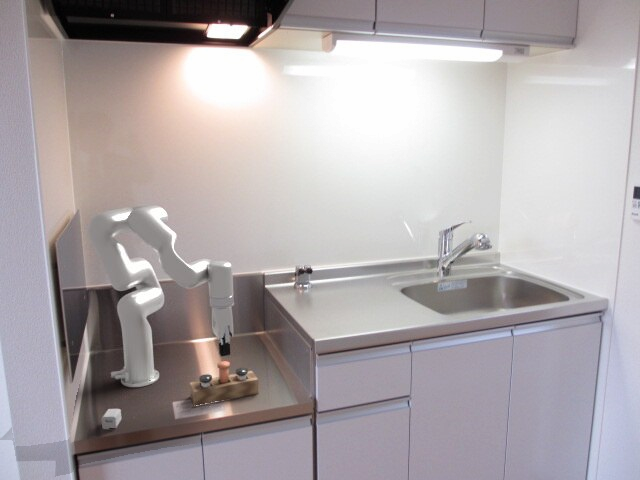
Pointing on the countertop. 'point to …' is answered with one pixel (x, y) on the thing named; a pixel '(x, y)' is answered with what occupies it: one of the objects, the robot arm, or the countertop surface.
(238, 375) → the grey plug far
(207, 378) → the grey plug near
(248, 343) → the countertop surface
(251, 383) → the socket strip
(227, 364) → the rust plug
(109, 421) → the usb wall charger
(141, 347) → the robot arm
